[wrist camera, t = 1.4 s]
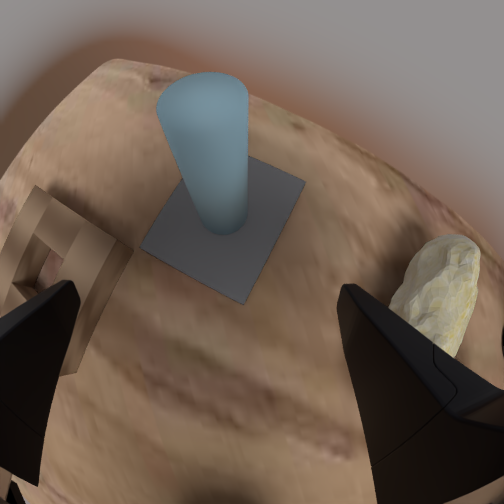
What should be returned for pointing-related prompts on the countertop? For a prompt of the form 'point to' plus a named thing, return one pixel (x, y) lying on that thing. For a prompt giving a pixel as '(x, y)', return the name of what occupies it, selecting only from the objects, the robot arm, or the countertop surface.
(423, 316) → the cream lumpy knobby chunk
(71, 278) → the block
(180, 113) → the light blue cylinder
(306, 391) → the countertop surface
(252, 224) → the mat
